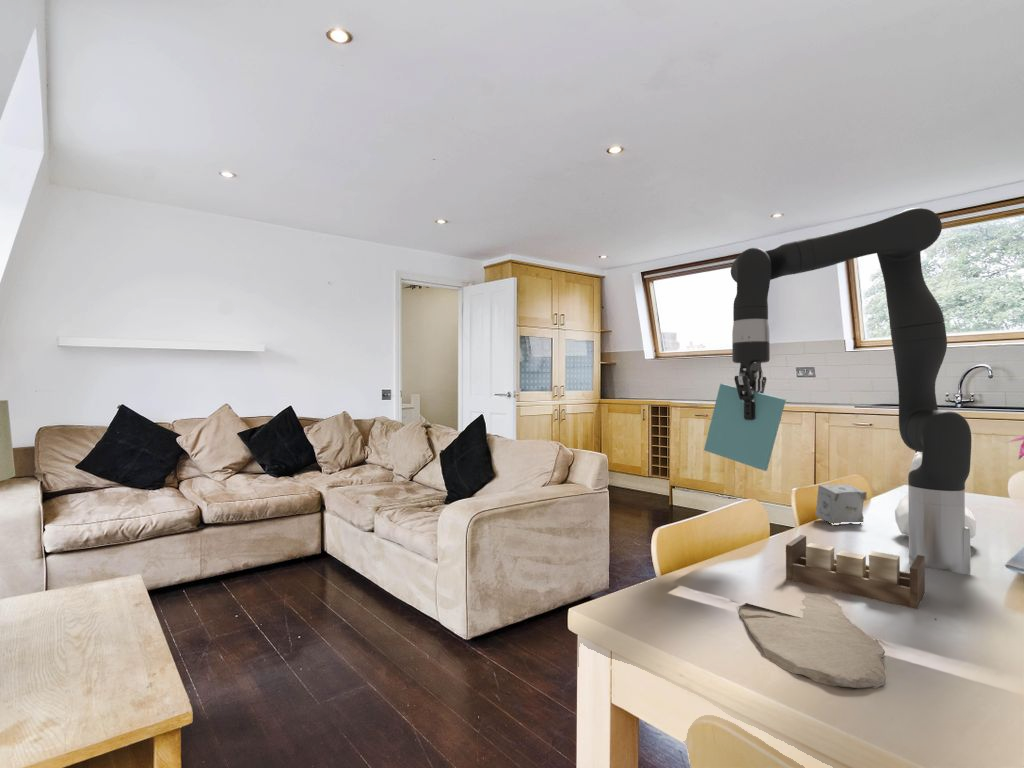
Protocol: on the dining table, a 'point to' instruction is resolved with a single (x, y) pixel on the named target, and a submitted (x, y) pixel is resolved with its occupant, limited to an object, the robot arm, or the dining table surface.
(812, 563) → the offcut
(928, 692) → the dining table surface
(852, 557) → the block
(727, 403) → the teal sheet
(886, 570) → the offcut
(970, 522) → the decorative rooster
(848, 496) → the grey block
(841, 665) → the stone tablet
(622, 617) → the dining table surface
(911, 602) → the walnut rack
